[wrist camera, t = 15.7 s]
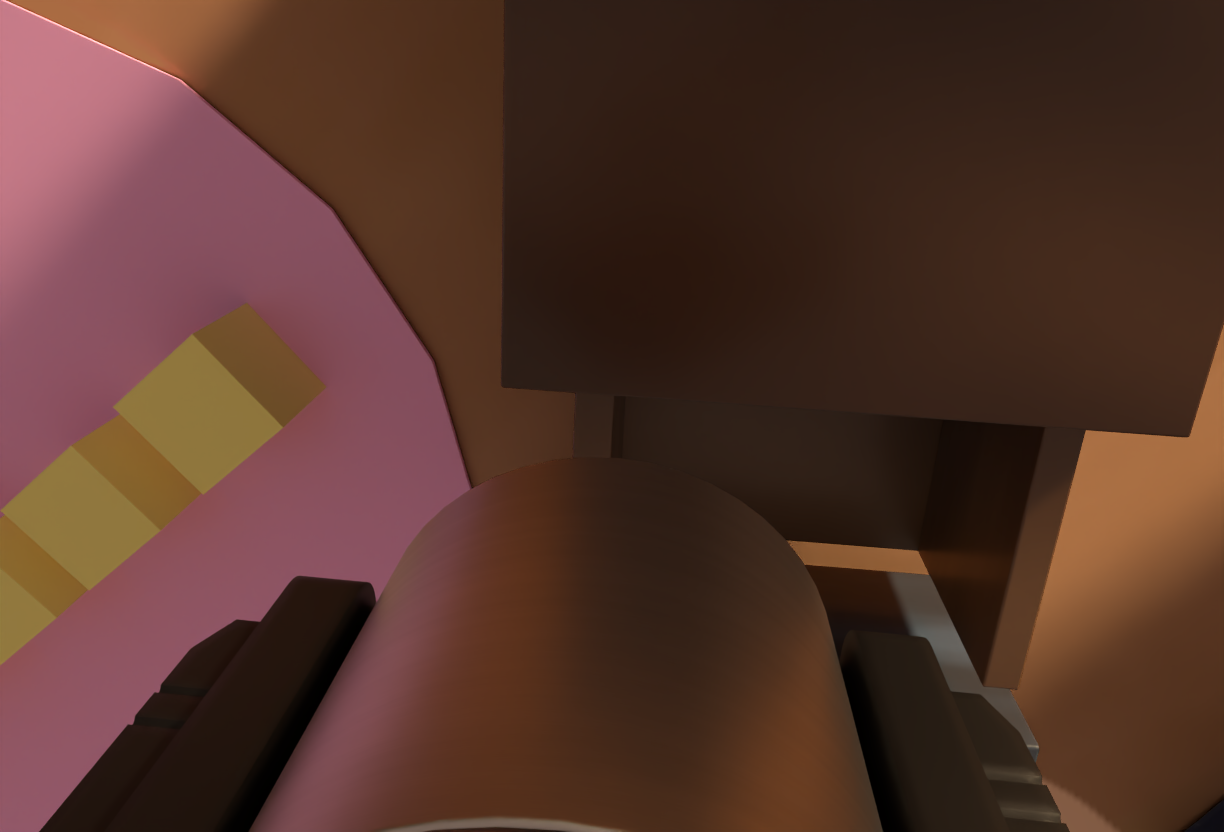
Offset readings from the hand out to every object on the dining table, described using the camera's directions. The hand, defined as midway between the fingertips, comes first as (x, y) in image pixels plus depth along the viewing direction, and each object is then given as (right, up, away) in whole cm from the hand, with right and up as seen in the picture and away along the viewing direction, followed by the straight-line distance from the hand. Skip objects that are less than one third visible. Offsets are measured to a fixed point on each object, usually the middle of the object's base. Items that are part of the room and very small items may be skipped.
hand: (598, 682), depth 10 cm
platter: (-20, -1, +21) cm, 29 cm away
